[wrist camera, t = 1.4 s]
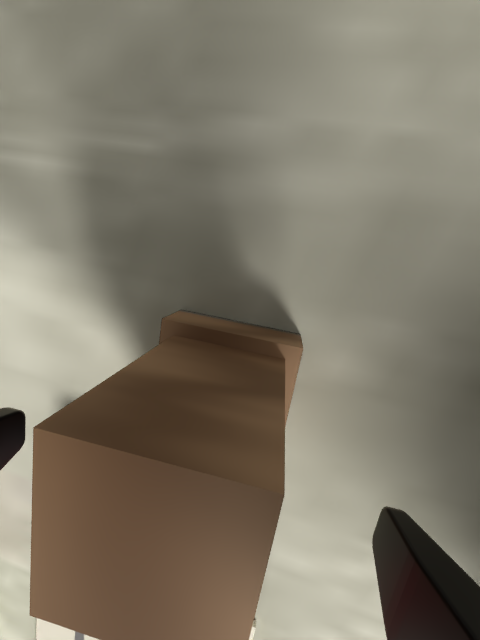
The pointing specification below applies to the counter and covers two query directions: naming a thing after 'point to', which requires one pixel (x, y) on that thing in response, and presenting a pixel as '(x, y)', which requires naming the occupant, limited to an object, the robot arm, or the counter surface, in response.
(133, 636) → the stamp
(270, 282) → the counter surface
